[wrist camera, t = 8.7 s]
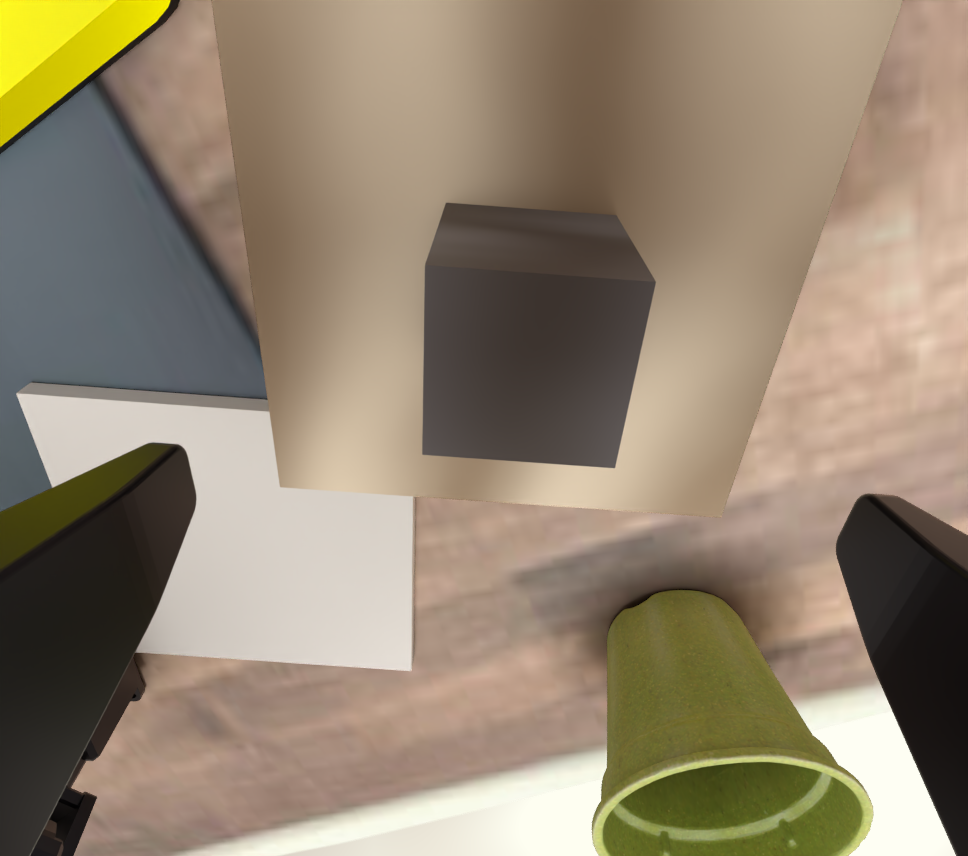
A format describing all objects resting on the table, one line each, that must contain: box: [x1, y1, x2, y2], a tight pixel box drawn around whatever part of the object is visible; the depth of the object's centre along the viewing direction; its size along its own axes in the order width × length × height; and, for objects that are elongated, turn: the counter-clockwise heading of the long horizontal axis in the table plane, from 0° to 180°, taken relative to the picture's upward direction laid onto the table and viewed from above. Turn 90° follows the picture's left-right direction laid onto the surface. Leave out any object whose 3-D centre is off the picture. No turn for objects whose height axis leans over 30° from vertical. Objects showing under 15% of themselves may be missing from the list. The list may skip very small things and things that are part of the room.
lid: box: [211, 0, 903, 518], centre depth 12 cm, size 12×12×5 cm
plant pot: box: [592, 590, 873, 856], centre depth 25 cm, size 9×9×9 cm
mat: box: [16, 383, 415, 671], centre depth 26 cm, size 14×14×1 cm
